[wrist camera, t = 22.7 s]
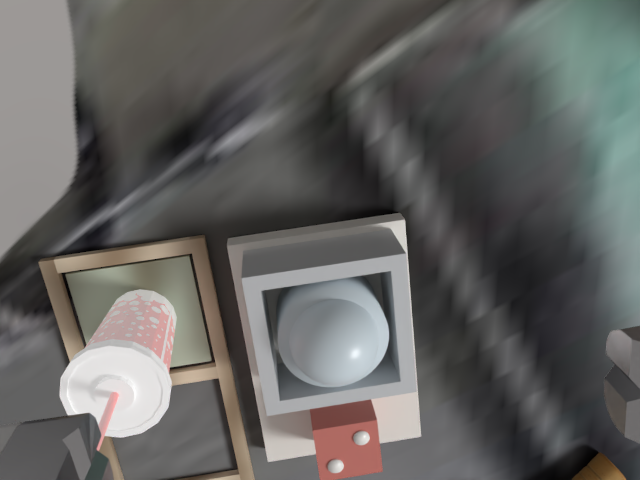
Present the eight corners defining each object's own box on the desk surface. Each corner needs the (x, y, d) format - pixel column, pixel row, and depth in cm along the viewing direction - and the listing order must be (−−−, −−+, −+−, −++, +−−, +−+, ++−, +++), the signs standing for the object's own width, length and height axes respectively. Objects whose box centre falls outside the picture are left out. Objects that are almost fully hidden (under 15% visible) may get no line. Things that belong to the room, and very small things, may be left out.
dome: (372, 256, 40) (394, 301, 34) (381, 346, 43) (402, 403, 36) (269, 271, 40) (270, 320, 34) (284, 361, 42) (288, 422, 36)
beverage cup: (81, 300, 41) (0, 430, 28) (162, 265, 41) (117, 381, 28) (126, 369, 44) (69, 519, 31) (202, 336, 43) (178, 474, 30)
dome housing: (399, 212, 42) (422, 243, 36) (416, 424, 48) (437, 478, 43) (227, 238, 41) (223, 273, 36) (267, 448, 48) (269, 506, 42)
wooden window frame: (204, 234, 41) (203, 237, 40) (272, 567, 52) (272, 573, 51) (41, 258, 40) (38, 262, 40) (145, 589, 51) (143, 595, 51)
